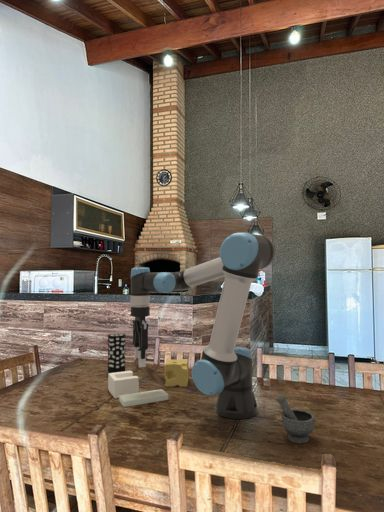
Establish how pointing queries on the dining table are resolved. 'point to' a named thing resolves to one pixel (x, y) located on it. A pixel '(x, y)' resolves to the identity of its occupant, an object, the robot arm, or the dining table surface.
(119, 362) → the spotted tube
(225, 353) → the robot arm
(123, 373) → the white box holder
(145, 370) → the tile
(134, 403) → the white flat bar
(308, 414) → the mortar and pestle
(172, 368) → the cheese
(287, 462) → the dining table surface
